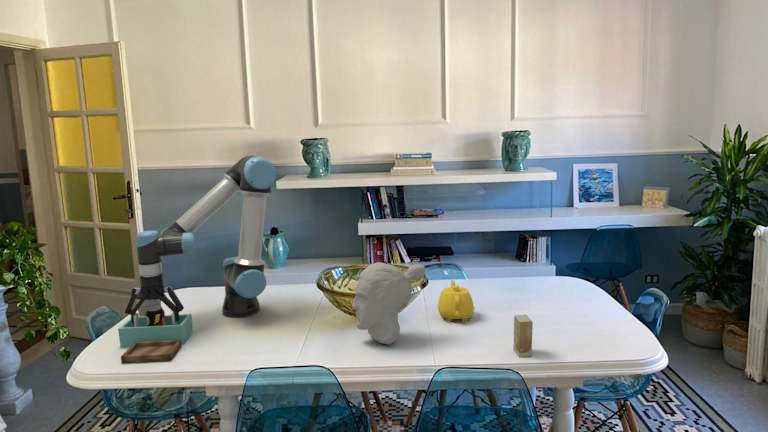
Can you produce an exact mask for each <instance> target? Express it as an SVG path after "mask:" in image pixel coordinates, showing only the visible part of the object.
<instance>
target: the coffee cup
mask: <svg viewBox="0 0 768 432" xmlns="http://www.w3.org/2000/svg"><path fill="white" fill-rule="evenodd" d="M142 297H143V295H142V293H141V292H139V293H138V294H137V297H136V299H135V301H136V304H137V303H138V302H139V301H140V299H141V298H142ZM152 306H162V301H160V300H159V299H157V300H153V299H152V300H148V299H146V300H145V301H144V302H143V304H142V305H141V306H140V308H139V309H138V310H137V313H138V314H139V317H140V316H146V312H147V308H149V307H152Z"/></svg>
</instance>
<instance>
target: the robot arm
mask: <svg viewBox="0 0 768 432" xmlns="http://www.w3.org/2000/svg"><path fill="white" fill-rule="evenodd" d="M223 175H224V176H223V179H221V180H220V181H219V182H218V183H217V184H216V185H215V186H213V187H212V188H211V189H210V190H209V191H208V192H207V193H206V194H204V195H203V196H202V197H201V198H200V199H199V200H198V201H196V203H195V204H194V205H192V206H191V207H190V208H189V209H188V210H187V211H186V212H185V213H183V214H182V215H181V216H180V217H179V218H178V219H176V221H175V222H174V223H173V224H171V225H170V226H167V227H165V228H164V229H163V230H161V233H160V234H159V232H158V231H157V230H144V231H140V232H137V234H136V236H135V239H136V240H135V242H136V252H137V254H136V255H137V263H138V274H139V282H140V287H138V286H135V287H133V288H132V289H131V296H130V299H129V301H128V304H127V306H126V308H125V311H124V314H127V315H130V318H131V321H132V323H134V326H135V327H140V323H139V312H138V309H139V308H140V306H141V305H142V304H143V302H144V301H145V300H146V299H148V300H152V299H153V300H157V299H159V300H160V301H161V303H163V304H164V305H166V307H167V308H168V309H169V310H170V311H171V312H172V313H171V315H172V323H173V325H177V321H179V315H180V312H182V311H183V310H184V309H185V308H184V307H185V306H184V305H183V304H182V302H181V301H180V299H179V298H178V295H177V294H176V292H175V290H174V286H173V285H169V286H164V277H163V273H162V272H163V268H162V260H161V259H162V257H168V256H169V257H170V256H177V255H187V254H190V253H194V251H195V250H196V242H195V241H196V240H195V235H194V234H193V233H195V231H197V230H198V229H199V228H200V227H201V226H202V225H203V224H204V223H206V221H207V220H209V219H210V218H211V217H212V216H213V215H214V214H215V213H216V212H217V211H218V210H220V209H221V208H222V207H223V206H224V205H225V204H226V203H227V202H229V200H231V199H232V198H233V197H234V196H235V195H237V193H241V194H242V196H243V198H242V207H241V208H242V211H241V222H240V232H239V233H240V235H239V242H238V243H239V246H238V254H237V255H238V256H232V257H227V258H225V259H223V261H222V268H223V278H224V279H223V280H224V291H225V295H224V299H223V304H222V307H221V308H222V309H221V310H222V314H223V316H225V317H230V318H241V317H242V318H244V317H248V316H252V315H254V314H256V313H259V312H260V310H261V305H260V302H259V299H258V296H260V295H261V294H262V293H263V292H264V291H265V290H266V287H267V278H266V275H265V261H264V260H263V259H262V251H263V238H264V228H265V217H266V206H267V197H268V196H270V195H271V194H272V185H273V184H274V183H275V181H276V177H277V171H276V168H275V165H274V164H273V163H272V162H271V161H270V160H269V159H268V158H265V157H263V156H255V155H246V156H244V157H241V158H240V159H239V160H238V161H237V162H236V163H234V165H232V167H230V168H229V169H228V170H227V171H226V172H225V173H224V174H223ZM139 292H141V293H142V295H143V297H142V298H141V299H140V301H139V302H138V303H137V302H136V297H137V294H138V293H139ZM165 293H167V294H168V296H169V297H167V295H166V294H165ZM169 298H170V299H171V300H170V299H169ZM135 302H136V305H135V306H134V303H135ZM133 306H134V308H133ZM132 308H133V309H132Z"/></svg>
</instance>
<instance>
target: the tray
mask: <svg viewBox="0 0 768 432" xmlns="http://www.w3.org/2000/svg"><path fill="white" fill-rule="evenodd" d="M182 347H183V345H182V344H181V340H171V341H150V342H135V343H134V344H133V345H132V346H131V347H128V349H127V350H126V351H125V352H124V353H123V354H122V355H121V356H120V361H121V364H140V363H161V362H162V363H163V362H164V363H165V362H172V361H173V359H174V357H176V355H177V354H178V353H179V351H180V350H181V348H182Z"/></svg>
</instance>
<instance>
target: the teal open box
mask: <svg viewBox="0 0 768 432" xmlns="http://www.w3.org/2000/svg"><path fill="white" fill-rule="evenodd" d="M165 322H166V326H147V322H146V316H140V317H139V323H140V327H135V326H134V323H132V321H131V317H130V318H128V319H127V320H126V321H125V322H124V323H123V324H122V325H121V326H120V327H118V335H119V337H118V339H119V346H120V348H130V347H131V346H132V345H133V344H134V343H135V342H150V341H171V340H181V344H182V346H183V345H184V344H185V343H186V341H188V339H189V338H190V337H191V335H192V334H193V333H194V329H193V328H194V326H193V319H192V314H190V313H189V314H187V313H186V314H179V321H177V325H173V323H172V314H169V315H167V314H165Z"/></svg>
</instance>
